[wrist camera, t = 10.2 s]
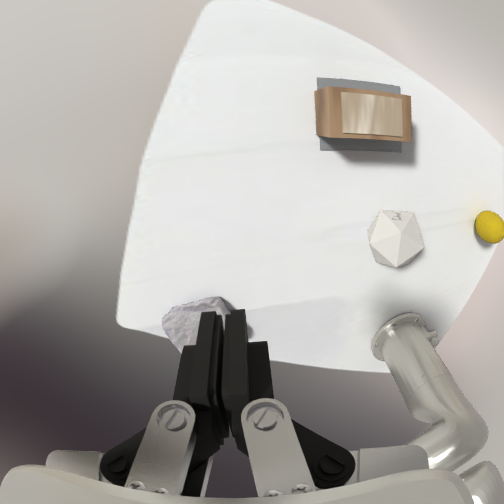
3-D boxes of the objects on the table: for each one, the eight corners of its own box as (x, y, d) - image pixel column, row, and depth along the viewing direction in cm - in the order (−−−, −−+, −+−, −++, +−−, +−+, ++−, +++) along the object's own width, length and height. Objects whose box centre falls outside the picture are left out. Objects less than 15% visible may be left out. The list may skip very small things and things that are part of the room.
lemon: (469, 205, 39) (498, 221, 32) (487, 204, 39) (514, 219, 32) (465, 233, 42) (492, 252, 34) (483, 231, 42) (508, 248, 34)
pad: (399, 86, 31) (399, 86, 31) (400, 152, 36) (400, 152, 35) (316, 77, 31) (317, 77, 31) (320, 149, 35) (320, 149, 35)
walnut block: (314, 91, 32) (388, 97, 32) (316, 135, 34) (389, 138, 34) (328, 86, 26) (411, 96, 26) (330, 137, 29) (412, 142, 29)
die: (413, 217, 41) (429, 202, 32) (412, 271, 40) (428, 268, 31) (366, 214, 44) (371, 198, 34) (364, 267, 43) (369, 264, 34)
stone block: (160, 309, 48) (192, 351, 50) (151, 322, 43) (187, 366, 45) (215, 278, 46) (247, 325, 48) (210, 289, 42) (246, 340, 44)
